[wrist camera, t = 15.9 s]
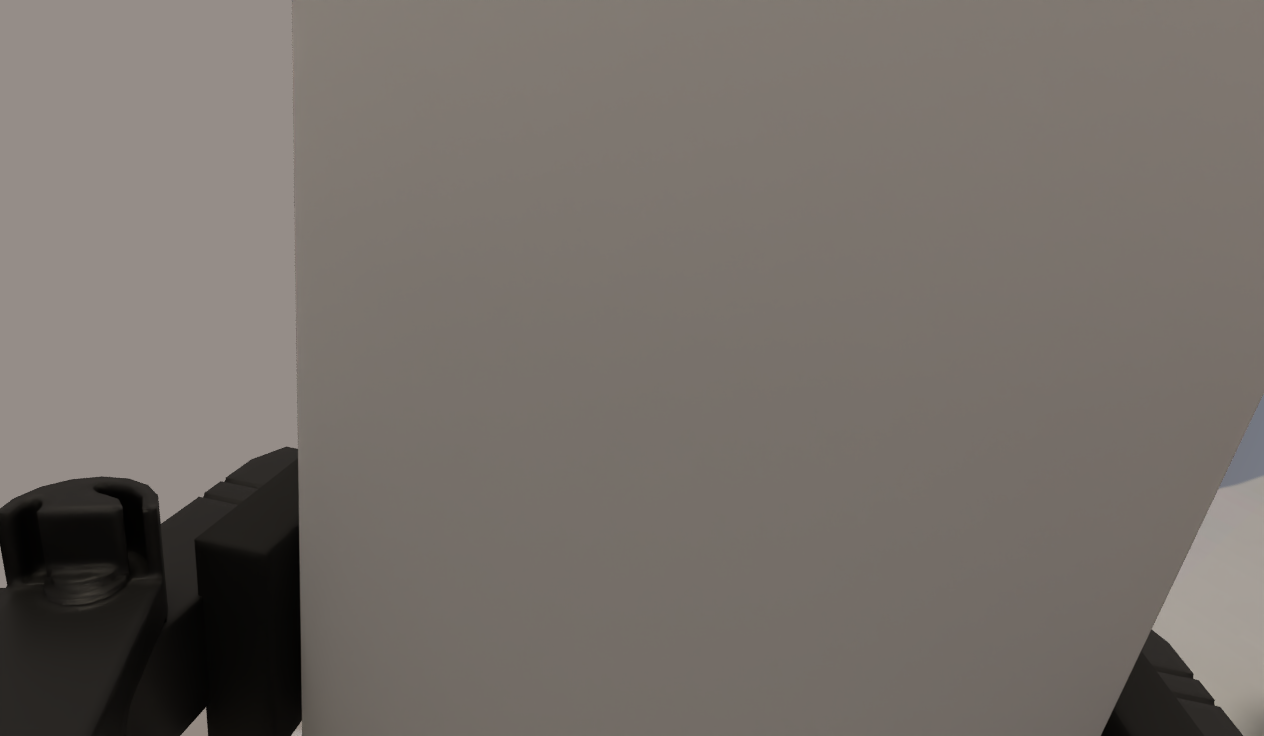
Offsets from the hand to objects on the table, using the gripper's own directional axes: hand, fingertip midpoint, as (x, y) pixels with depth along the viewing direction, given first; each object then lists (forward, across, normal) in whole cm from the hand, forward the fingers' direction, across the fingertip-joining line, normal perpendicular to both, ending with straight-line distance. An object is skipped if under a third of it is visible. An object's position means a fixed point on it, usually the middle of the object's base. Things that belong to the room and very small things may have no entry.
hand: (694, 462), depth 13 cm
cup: (-5, 0, -9) cm, 10 cm away
